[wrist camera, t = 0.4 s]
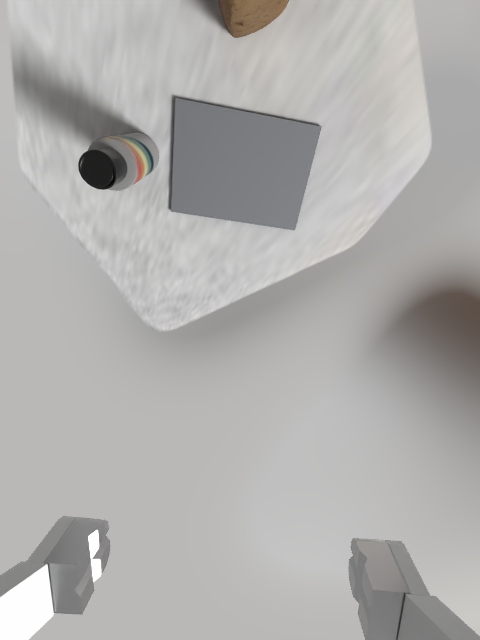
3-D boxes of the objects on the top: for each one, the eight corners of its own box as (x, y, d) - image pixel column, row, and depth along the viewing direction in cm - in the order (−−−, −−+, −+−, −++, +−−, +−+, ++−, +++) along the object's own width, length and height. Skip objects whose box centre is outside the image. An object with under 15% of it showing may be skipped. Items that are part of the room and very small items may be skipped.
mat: (171, 210, 53) (171, 211, 52) (175, 98, 44) (175, 97, 44) (294, 229, 56) (294, 230, 55) (320, 126, 47) (321, 126, 47)
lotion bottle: (125, 172, 49) (73, 198, 33) (120, 131, 46) (60, 136, 30) (161, 174, 50) (128, 202, 33) (158, 134, 47) (121, 141, 30)
